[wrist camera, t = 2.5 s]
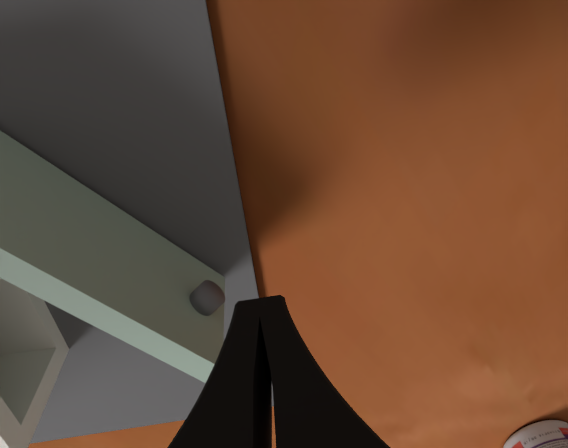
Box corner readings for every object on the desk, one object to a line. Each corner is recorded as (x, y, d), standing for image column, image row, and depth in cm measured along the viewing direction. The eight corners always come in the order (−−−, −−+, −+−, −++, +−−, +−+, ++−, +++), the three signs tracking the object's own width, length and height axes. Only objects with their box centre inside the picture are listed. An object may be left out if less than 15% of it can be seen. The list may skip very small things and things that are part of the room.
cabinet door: (236, 267, 21) (237, 356, 16) (211, 290, 21) (205, 383, 17) (-25, 90, 16) (-134, 147, 11) (-48, 127, 16) (-161, 195, 12)
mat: (277, 399, 27) (278, 405, 27) (-55, 450, 26) (-59, 457, 26) (178, -151, 13) (177, -154, 13) (-512, -69, 13) (-533, -70, 12)
